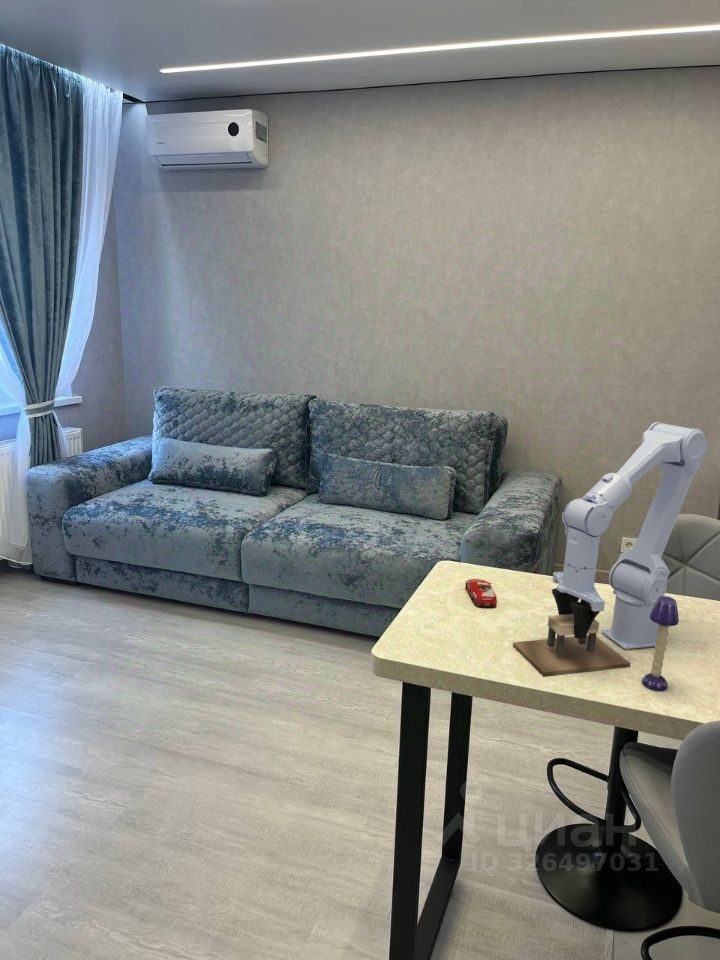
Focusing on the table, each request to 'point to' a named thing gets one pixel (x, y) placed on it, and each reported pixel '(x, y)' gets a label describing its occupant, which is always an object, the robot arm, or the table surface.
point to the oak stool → (568, 632)
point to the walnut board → (569, 656)
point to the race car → (481, 592)
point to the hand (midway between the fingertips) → (572, 631)
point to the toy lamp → (661, 640)
